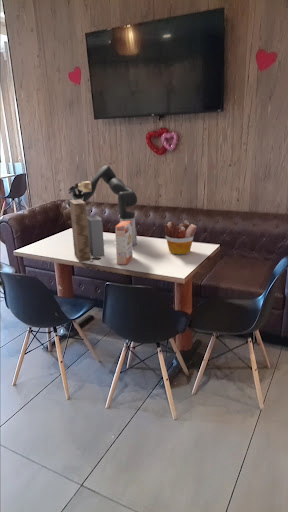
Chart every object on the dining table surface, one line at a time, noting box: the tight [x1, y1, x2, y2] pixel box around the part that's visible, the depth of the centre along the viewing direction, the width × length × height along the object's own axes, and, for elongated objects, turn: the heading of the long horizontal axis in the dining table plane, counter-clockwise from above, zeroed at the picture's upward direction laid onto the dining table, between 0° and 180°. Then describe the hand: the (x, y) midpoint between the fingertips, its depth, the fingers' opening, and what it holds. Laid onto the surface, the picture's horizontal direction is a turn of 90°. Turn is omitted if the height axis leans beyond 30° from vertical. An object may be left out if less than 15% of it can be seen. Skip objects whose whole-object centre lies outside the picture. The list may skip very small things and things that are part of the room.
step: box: [87, 215, 105, 259], centre depth 209 cm, size 6×12×22 cm, turn 21°
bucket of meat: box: [163, 220, 197, 255], centre depth 207 cm, size 20×16×20 cm
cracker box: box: [114, 221, 134, 266], centre depth 196 cm, size 14×6×21 cm, turn 168°
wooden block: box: [69, 199, 91, 263], centre depth 201 cm, size 6×14×32 cm, turn 21°
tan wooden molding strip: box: [78, 180, 92, 192], centre depth 212 cm, size 4×24×5 cm, turn 21°
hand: (81, 184), depth 217 cm, fingers closed on tan wooden molding strip, 4 cm apart
